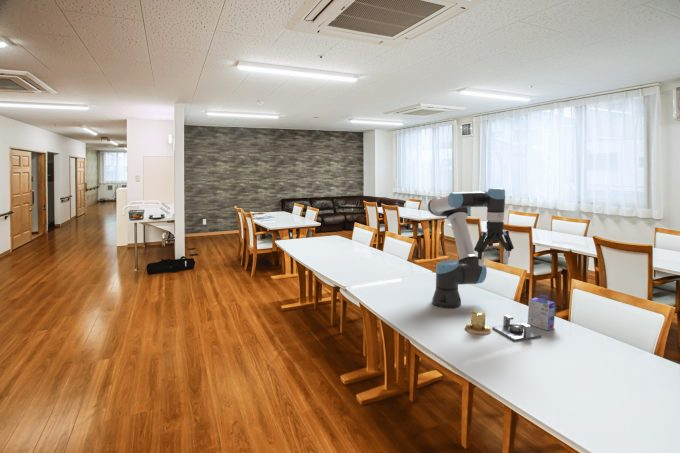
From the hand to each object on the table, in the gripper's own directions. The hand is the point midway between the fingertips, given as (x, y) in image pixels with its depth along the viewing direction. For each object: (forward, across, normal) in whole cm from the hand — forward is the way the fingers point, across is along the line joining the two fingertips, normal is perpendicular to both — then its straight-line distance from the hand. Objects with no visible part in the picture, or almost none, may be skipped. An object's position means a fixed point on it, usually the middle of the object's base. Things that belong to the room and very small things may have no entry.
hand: (493, 264), depth 184 cm
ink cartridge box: (+27, +15, -16) cm, 34 cm away
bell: (+26, -15, -11) cm, 32 cm away
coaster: (+26, -15, -11) cm, 32 cm away
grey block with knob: (+26, -1, -19) cm, 32 cm away
